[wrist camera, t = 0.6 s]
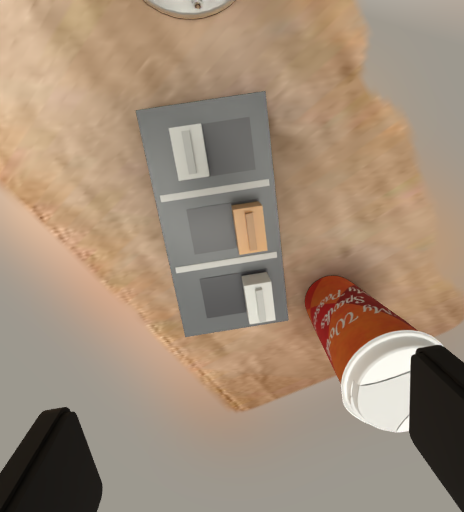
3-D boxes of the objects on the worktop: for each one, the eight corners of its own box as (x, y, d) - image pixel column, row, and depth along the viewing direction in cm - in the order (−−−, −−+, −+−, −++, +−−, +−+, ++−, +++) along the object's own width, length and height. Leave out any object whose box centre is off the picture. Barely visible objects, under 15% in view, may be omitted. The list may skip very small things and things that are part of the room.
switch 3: (241, 275, 31) (244, 288, 28) (266, 271, 31) (272, 284, 28) (246, 312, 32) (250, 327, 29) (270, 308, 32) (276, 323, 29)
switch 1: (172, 130, 27) (167, 127, 24) (201, 126, 27) (200, 122, 24) (181, 178, 28) (178, 181, 25) (209, 174, 28) (209, 176, 25)
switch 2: (231, 205, 29) (233, 211, 26) (258, 201, 29) (263, 206, 26) (237, 246, 30) (240, 257, 27) (263, 242, 30) (268, 252, 27)
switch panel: (142, 114, 29) (135, 110, 26) (260, 97, 29) (265, 90, 26) (187, 322, 36) (185, 337, 33) (282, 307, 36) (288, 320, 33)
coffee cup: (342, 251, 35) (433, 318, 20) (377, 304, 37) (482, 398, 23) (279, 295, 36) (325, 388, 21) (318, 343, 38) (382, 457, 24)
